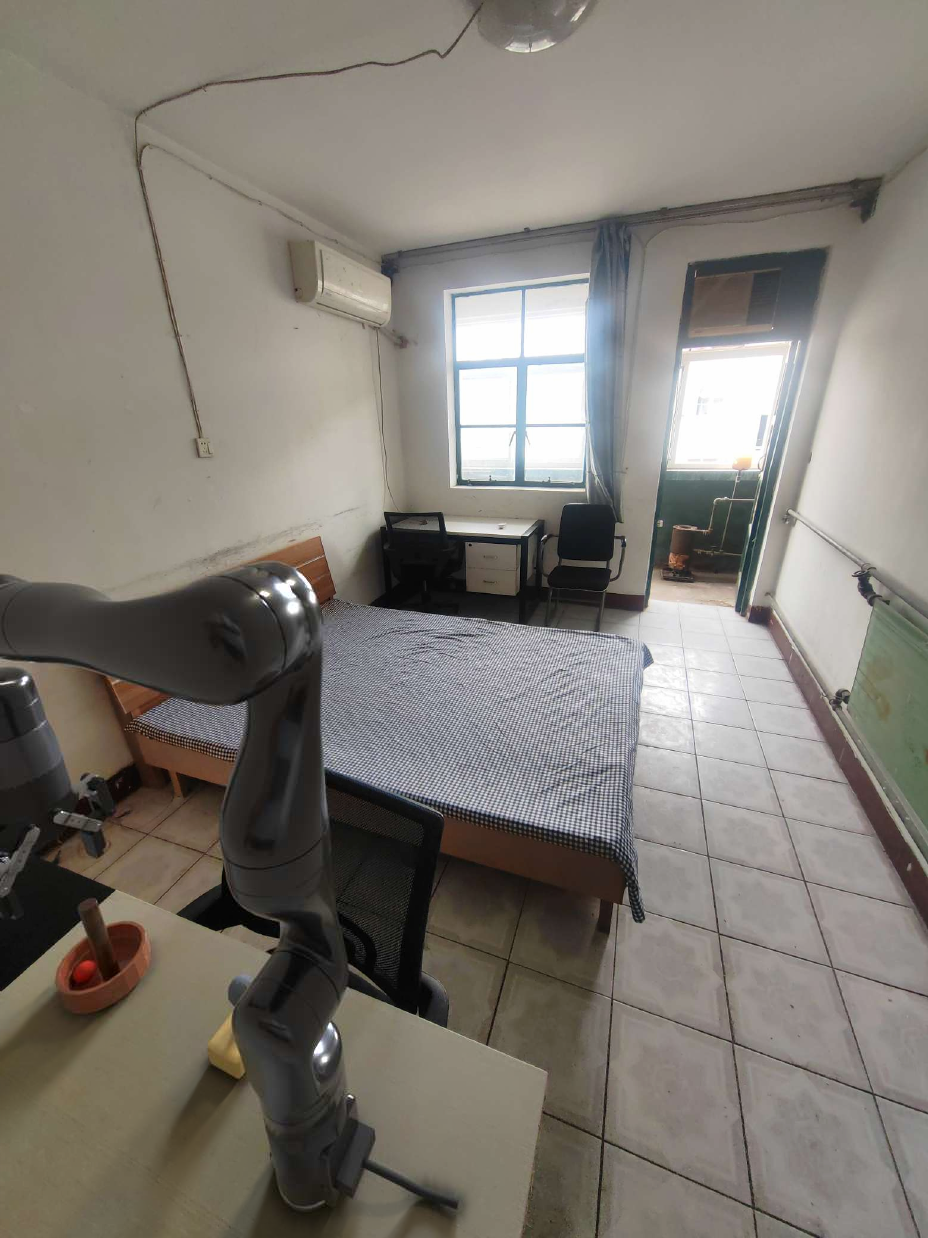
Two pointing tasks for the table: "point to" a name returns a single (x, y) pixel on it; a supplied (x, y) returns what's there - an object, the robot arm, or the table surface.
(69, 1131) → the table surface
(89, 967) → the ball
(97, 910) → the stick
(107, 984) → the bowl
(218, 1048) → the rubber stamp
